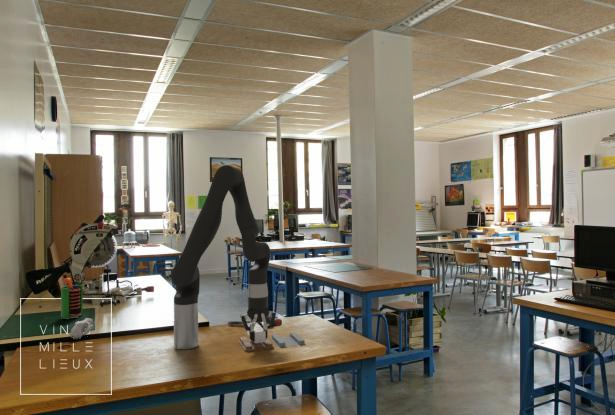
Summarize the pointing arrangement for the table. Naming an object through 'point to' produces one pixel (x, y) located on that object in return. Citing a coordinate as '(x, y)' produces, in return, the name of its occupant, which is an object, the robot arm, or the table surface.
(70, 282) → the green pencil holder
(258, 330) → the block
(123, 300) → the table surface
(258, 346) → the cradle
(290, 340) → the grey channel bracket
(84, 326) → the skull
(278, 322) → the valve
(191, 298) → the robot arm
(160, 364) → the table surface
